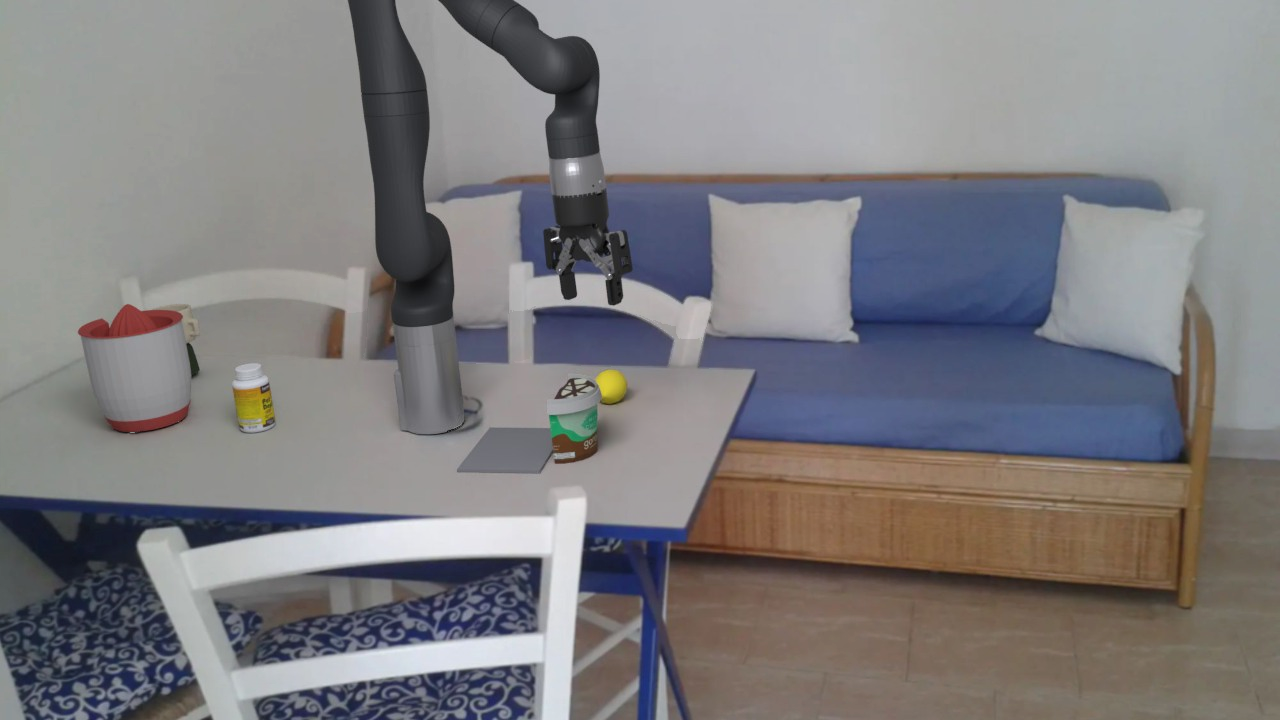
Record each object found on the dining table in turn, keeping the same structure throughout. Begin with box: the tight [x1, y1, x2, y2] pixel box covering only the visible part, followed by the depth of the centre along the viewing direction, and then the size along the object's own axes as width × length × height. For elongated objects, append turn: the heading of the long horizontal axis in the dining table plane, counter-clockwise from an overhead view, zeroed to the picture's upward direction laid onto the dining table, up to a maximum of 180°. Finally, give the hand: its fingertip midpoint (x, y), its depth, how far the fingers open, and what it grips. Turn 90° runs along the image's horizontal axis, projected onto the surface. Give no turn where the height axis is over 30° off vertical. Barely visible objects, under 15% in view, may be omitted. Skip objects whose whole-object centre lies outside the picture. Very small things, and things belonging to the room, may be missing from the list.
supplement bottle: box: [231, 362, 276, 434], centre depth 180 cm, size 6×6×10 cm
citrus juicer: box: [77, 303, 192, 433], centre depth 185 cm, size 16×17×20 cm
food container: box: [546, 372, 602, 465], centre depth 163 cm, size 12×6×10 cm, turn 168°
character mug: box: [151, 303, 201, 377], centre depth 208 cm, size 11×7×13 cm, turn 74°
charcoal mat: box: [456, 426, 554, 474], centre depth 166 cm, size 12×16×1 cm
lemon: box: [594, 369, 628, 405], centre depth 183 cm, size 7×5×5 cm
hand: (592, 301), depth 161 cm, fingers open, 8 cm apart
